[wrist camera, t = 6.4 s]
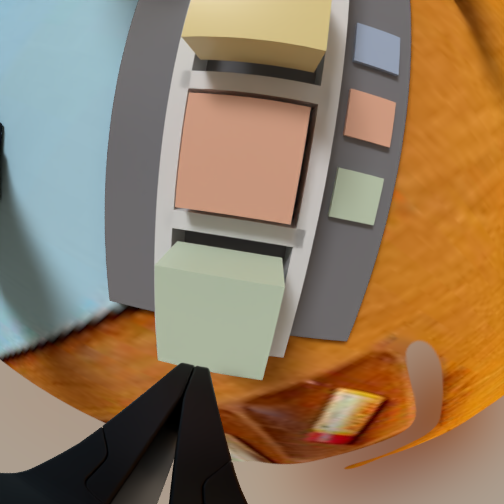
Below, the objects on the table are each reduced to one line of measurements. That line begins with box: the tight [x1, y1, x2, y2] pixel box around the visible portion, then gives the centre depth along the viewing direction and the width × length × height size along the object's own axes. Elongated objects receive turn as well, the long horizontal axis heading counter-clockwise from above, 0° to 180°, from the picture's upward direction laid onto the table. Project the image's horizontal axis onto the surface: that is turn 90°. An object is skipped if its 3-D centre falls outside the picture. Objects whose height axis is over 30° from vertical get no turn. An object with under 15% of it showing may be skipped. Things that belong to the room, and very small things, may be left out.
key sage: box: [155, 241, 285, 380], centre depth 11 cm, size 4×4×3 cm
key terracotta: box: [175, 93, 311, 225], centre depth 11 cm, size 4×4×3 cm
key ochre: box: [181, 0, 332, 73], centre depth 7 cm, size 4×4×3 cm
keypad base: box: [105, 0, 411, 358], centre depth 11 cm, size 15×25×3 cm, turn 172°
